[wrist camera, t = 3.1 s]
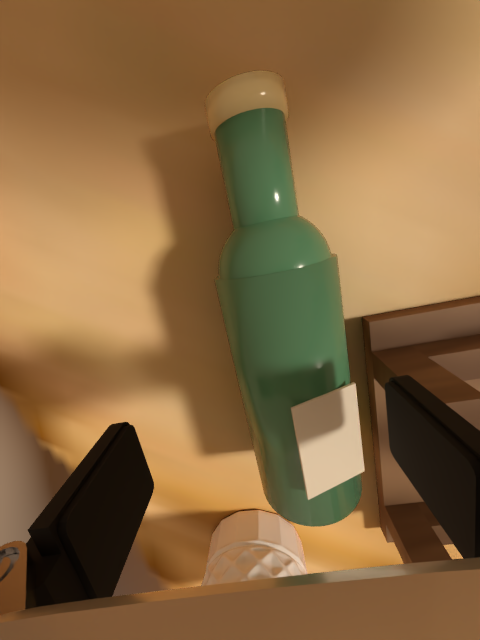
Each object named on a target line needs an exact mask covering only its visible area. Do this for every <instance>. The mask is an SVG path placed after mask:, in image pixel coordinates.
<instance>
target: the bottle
mask: <svg viewBox="0 0 480 640" xmlns="http://www.w3.org/2000/svg"><path fill="white" fill-rule="evenodd" d="M205 111H206V115H207V120H208V125H209V130H210V135H211V138H212V139H213V140H214V141H215V142H216V145H217V150H218V155H219V160H220V165H221V170H222V174H223V179H224V184H225V189H226V194H227V199H228V204H229V209H230V214H231V219H232V223H233V228H234V230H233V232H232V233H231V234H230V235H229V237H228V238H227V240H226V242H225V244H224V246H223V248H222V251H221V254H220V258H219V265H218V277H216V278H215V279H214V280H215V285H216V289H217V293H218V298H219V302H220V306H221V310H222V315H223V319H224V323H225V328H226V332H227V336H228V340H229V345H230V349H231V353H232V357H233V362H234V366H235V370H236V375H237V379H238V383H239V387H240V392H241V396H242V400H243V405H244V409H245V413H246V417H247V422H248V426H249V430H250V434H251V439H252V443H253V447H254V452H255V456H256V460H257V464H258V469H259V473H260V477H261V481H262V486H263V490H264V494H265V496H266V499H267V500H268V502H269V504H270V505H271V506H272V508H273V509H274V510H275V511H276V512H277V513H278V514H280V515H281V516H282V517H284V518H286V519H287V520H289V521H291V522H294V523H297V524H300V525H304V526H326V525H330V524H333V523H336V522H338V521H340V520H342V519H344V518H345V517H347V516H348V515H349V514H350V513H351V512H352V511H353V510H354V509H355V507H356V506H357V504H358V502H359V500H360V497H361V492H362V481H361V473H362V472H364V471H365V470H364V460H363V450H362V441H361V431H360V421H359V412H358V402H357V392H356V383H354V382H353V383H351V379H350V370H349V361H348V352H347V342H346V333H345V324H344V315H343V305H342V296H341V287H340V278H339V268H338V259H337V254H331V252H330V248H329V246H328V243H327V241H326V239H325V238H324V236H323V234H322V233H321V232H320V231H319V230H318V229H317V228H316V227H315V226H314V225H313V224H312V223H311V222H310V221H308V220H307V219H305V218H303V217H301V216H299V213H298V206H297V199H296V192H295V185H294V178H293V170H292V163H291V156H290V149H289V142H288V135H287V128H286V121H287V119H288V117H289V112H288V105H287V98H286V90H285V83H284V80H283V78H282V77H281V76H280V75H279V74H277V73H275V72H271V71H251V72H246V73H242V74H239V75H236V76H233V77H231V78H229V79H227V80H225V81H223V82H222V83H220V84H219V85H217V86H216V87H215V88H214V89H213V90H212V91H211V92H210V93H209V94H208V96H207V97H206V100H205Z"/></svg>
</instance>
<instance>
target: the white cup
mask: <svg viewBox="0 0 480 640" xmlns="http://www.w3.org/2000/svg"><path fill="white" fill-rule="evenodd" d="M304 574H307V569H306V563H305V558H304V553H303V548H302V543H301V540H300V538H299V536H298V534H297V532H296V530H295V528H294V526H293V525H292V524H290V523H289V522H288V521H286V520H285V519H283V518H282V517H281V516H279V515H277V514H274V513H270V512H266V511H262V510H249V511H239V512H236V513H234V514H232V515H231V516H229V517H227V518H225V519H223V520H222V521H221V522H220V523H219V525H218V526H217V528H216V529H215V531H214V532H213V534H212V538H211V544H210V549H209V555H208V560H207V566H206V572H205V575H204V578H203V582H202V585H201V586H206V585H215V584H224V583H233V582H241V581H250V580H259V579H268V578H277V577H286V576H295V575H304Z"/></svg>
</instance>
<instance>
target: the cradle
mask: <svg viewBox="0 0 480 640" xmlns="http://www.w3.org/2000/svg"><path fill="white" fill-rule="evenodd" d="M362 323H363V334H364V345H365V357H366V368H367V379H368V390H369V401H370V413H371V424H372V435H373V446H374V457H375V469H376V480H377V491H378V502H379V513H380V525H381V529H382V532H383V534H384V536H385V538H386V541H387V543H388V542H394V543H395V545H396V547H397V549H398V551H399V554H400V556H401V558H402V560H403V562H404V564H408V563H419V562H430V561H442V560H452V559H451V557H450V556H449V554H448V552H447V551H446V549H445V548H444V546H443V545H447V544H453V542H452V541H451V539H450V538H449V537H448V535H447V534H446V532H445V531H444V529H443V528H442V527H441V525H440V524H439V522H438V521H437V519H436V518H435V516H434V515H433V514H432V512H431V511H430V509H429V508H428V506H427V505H426V503H425V502H424V501H423V499H422V498H421V496H420V495H419V493H418V492H417V491H416V489H415V488H414V486H413V485H412V483H411V482H410V480H409V479H408V478H407V476H406V475H405V473H404V472H403V470H402V469H401V468H400V466H399V465H398V463H397V462H396V460H395V459H394V457H393V455H392V453H391V451H390V446H389V435H388V422H387V410H386V397H385V383H387V382H389V379H390V378H391V377H397V376H403V375H409V376H411V377H412V378H413V379H415V380H416V381H417V382H418V383H420V384H421V385H422V386H424V387H425V388H426V389H427V390H429V391H430V392H431V393H432V394H434V395H435V396H436V397H437V398H439V399H440V400H441V401H443V402H444V403H445V404H446V405H448V406H449V407H450V408H451V409H453V410H454V411H455V412H457V413H458V414H459V415H460V416H462V417H463V418H464V419H465V420H467V421H468V422H469V423H471V424H472V425H473V426H474V427H476V428H477V429H478V430H479V431H480V296H477V297H472V298H466V299H461V300H455V301H449V302H444V303H438V304H433V305H427V306H421V307H416V308H410V309H405V310H399V311H393V312H388V313H382V314H377V315H371V316H365V317H362Z"/></svg>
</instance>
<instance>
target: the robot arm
mask: <svg viewBox="0 0 480 640" xmlns="http://www.w3.org/2000/svg"><path fill="white" fill-rule="evenodd" d="M385 397H386V410H387V422H388V435H389V446H390V451H391V453H392V455H393V457H394V459H395V460H396V462H397V463H398V465H399V466H400V468H401V469H402V470H403V472H404V473H405V475H406V476H407V478H408V479H409V480H410V482H411V483H412V485H413V486H414V488H415V489H416V491H417V492H418V493H419V495H420V496H421V498H422V499H423V501H424V502H425V503H426V505H427V506H428V508H429V509H430V511H431V512H432V514H433V515H434V516H435V518H436V519H437V521H438V522H439V524H440V525H441V527H442V528H443V529H444V531H445V532H446V534H447V535H448V537H449V538H450V539H451V541H452V542H453V544H454V545H455V547H456V548H457V550H458V551H459V552H460V554H461V555H462V557H463V558H464V559H454V560H442V561H430V562H419V563H408V564H399V565H389V566H380V567H370V568H361V569H351V570H342V571H332V572H323V573H313V574H304V575H295V576H286V577H277V578H268V579H259V580H250V581H241V582H233V583H224V584H215V585H206V586H197V587H189V588H180V589H172V590H163V591H155V592H147V593H138V594H130V595H122V596H114V597H112V595H113V593H114V590H115V588H116V585H117V583H118V580H119V578H120V575H121V572H122V570H123V567H124V565H125V562H126V560H127V557H128V554H129V552H130V549H131V547H132V544H133V542H134V539H135V537H136V534H137V532H138V529H139V527H140V524H141V521H142V519H143V516H144V514H145V511H146V509H147V506H148V504H149V501H150V498H151V496H152V493H153V489H154V482H153V479H152V476H151V473H150V470H149V468H148V465H147V462H146V459H145V456H144V453H143V451H142V448H141V445H140V442H139V439H138V436H137V434H136V431H135V428H134V426H133V425H130V424H129V423H128V422H123V423H117V424H112V425H110V426H109V427H108V428H107V430H106V431H105V432H104V434H103V435H102V436H101V437H100V439H99V440H98V441H97V442H96V444H95V445H94V446H93V448H92V449H91V450H90V451H89V453H88V454H87V455H86V456H85V458H84V459H83V460H82V462H81V463H80V464H79V465H78V467H77V468H76V469H75V471H74V472H73V473H72V474H71V476H70V477H69V478H68V479H67V481H66V482H65V483H64V485H63V486H62V487H61V488H60V490H59V491H58V492H57V494H56V495H55V496H54V497H53V499H52V500H51V501H50V502H49V504H48V505H47V506H46V507H45V509H44V510H43V512H42V513H41V514H40V516H39V517H38V518H37V519H36V520H35V522H34V523H33V524H32V525H31V527H30V528H29V529H28V532H29V533H30V535H31V538H30V539H29V541H28V542H27V543H24V542H22V541H13V542H10V543H7V544H4V545H2V546H1V547H0V640H480V431H479V430H478V429H477V428H476V427H474V426H473V425H472V424H471V423H469V422H468V421H467V420H465V419H464V418H463V417H462V416H460V415H459V414H458V413H457V412H455V411H454V410H453V409H451V408H450V407H449V406H448V405H446V404H445V403H444V402H443V401H441V400H440V399H439V398H437V397H436V396H435V395H434V394H432V393H431V392H430V391H429V390H427V389H426V388H425V387H424V386H422V385H421V384H420V383H418V382H417V381H416V380H415V379H413V378H412V377H411V376H409V375H403V376H397V377H391V378H390V379H389V382H387V383H385Z"/></svg>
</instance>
